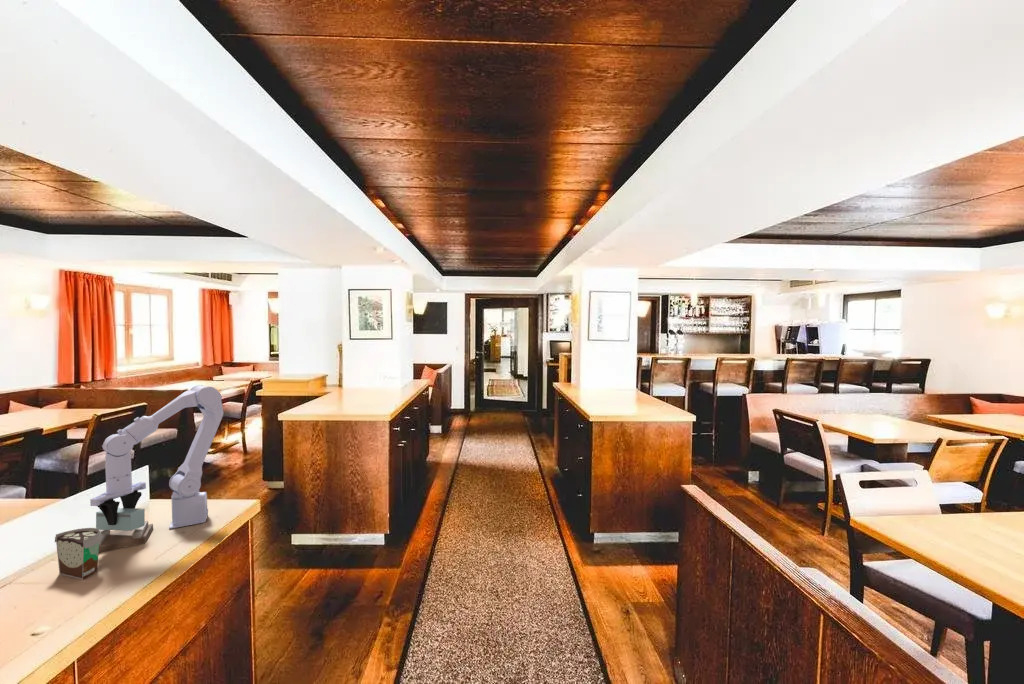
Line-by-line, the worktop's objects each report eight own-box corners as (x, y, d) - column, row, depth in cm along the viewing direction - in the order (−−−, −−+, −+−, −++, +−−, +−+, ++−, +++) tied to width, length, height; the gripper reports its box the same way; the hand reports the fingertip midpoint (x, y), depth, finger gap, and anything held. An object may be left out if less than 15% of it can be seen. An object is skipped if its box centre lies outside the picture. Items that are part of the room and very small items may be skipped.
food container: (115, 568, 117) (114, 529, 117) (86, 580, 111) (85, 540, 111) (85, 561, 121) (83, 524, 121) (55, 573, 115) (54, 534, 115)
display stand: (153, 528, 142) (152, 518, 142) (144, 543, 131) (144, 533, 131) (98, 538, 135) (98, 528, 135) (85, 554, 125) (84, 544, 125)
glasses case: (144, 525, 134) (144, 508, 134) (130, 531, 130) (130, 513, 130) (110, 524, 136) (110, 507, 136) (95, 529, 132) (95, 512, 132)
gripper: (104, 483, 125) (106, 532, 125) (153, 468, 140) (155, 512, 140) (83, 483, 126) (85, 531, 126) (134, 467, 141) (135, 511, 141)
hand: (120, 521), depth 133 cm, fingers closed on glasses case, 4 cm apart
